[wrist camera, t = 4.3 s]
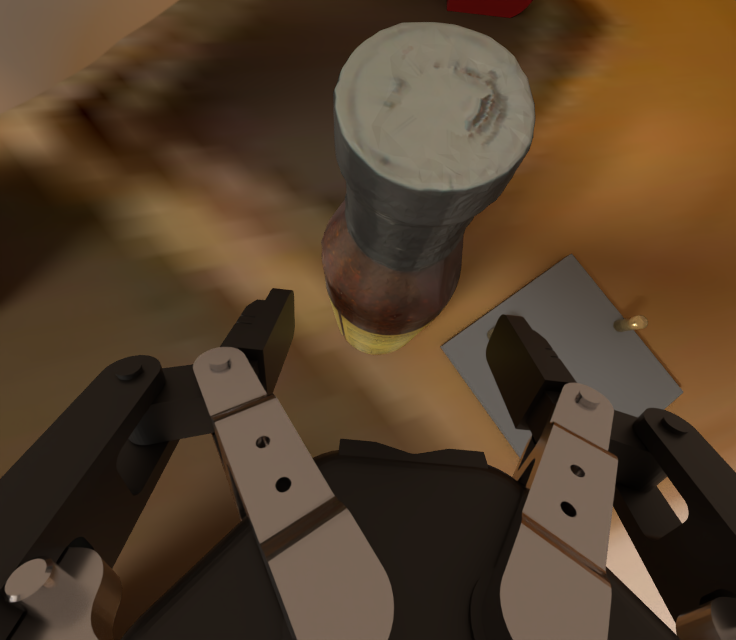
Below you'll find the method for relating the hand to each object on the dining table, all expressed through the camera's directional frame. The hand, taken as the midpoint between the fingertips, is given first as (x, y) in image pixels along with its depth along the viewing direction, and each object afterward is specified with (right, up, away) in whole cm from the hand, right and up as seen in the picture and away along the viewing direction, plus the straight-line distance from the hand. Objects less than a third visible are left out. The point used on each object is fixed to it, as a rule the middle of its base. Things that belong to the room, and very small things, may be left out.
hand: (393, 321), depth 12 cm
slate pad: (+14, -4, +13) cm, 20 cm away
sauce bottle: (-1, 0, +13) cm, 13 cm away
